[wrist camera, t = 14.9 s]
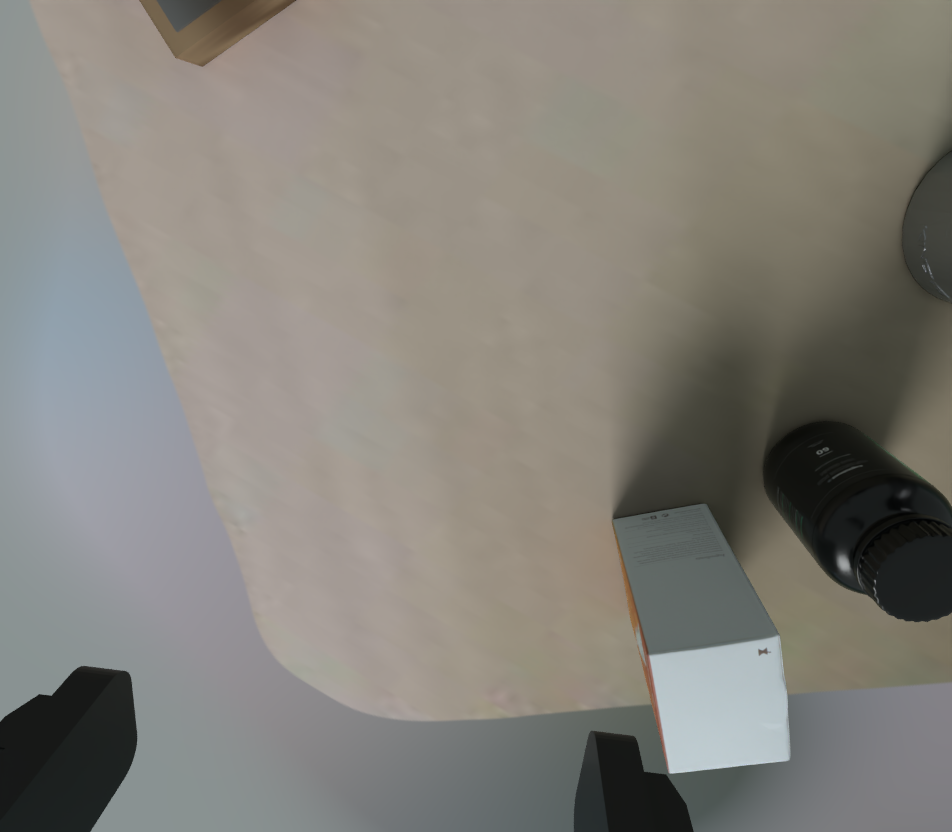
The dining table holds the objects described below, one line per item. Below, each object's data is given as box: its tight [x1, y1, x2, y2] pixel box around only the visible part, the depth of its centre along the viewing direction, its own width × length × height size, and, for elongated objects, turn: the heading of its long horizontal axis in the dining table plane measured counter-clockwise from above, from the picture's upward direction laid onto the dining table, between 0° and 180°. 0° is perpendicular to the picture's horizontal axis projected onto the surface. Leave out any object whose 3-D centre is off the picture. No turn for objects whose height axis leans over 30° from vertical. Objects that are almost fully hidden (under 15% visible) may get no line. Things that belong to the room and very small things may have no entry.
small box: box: [612, 504, 791, 774], centre depth 38 cm, size 8×6×13 cm
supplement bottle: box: [763, 421, 952, 622], centre depth 36 cm, size 7×7×12 cm
